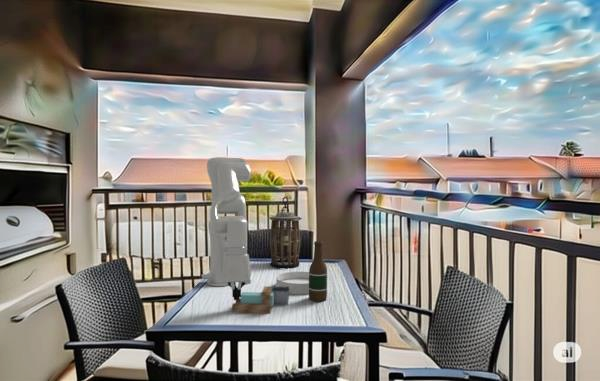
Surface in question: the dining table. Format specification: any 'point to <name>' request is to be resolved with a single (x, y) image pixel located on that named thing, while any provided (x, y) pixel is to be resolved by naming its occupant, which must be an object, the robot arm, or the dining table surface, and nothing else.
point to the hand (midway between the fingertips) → (236, 299)
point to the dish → (294, 282)
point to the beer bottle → (318, 275)
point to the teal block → (254, 298)
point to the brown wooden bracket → (255, 308)
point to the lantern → (285, 239)
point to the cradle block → (280, 295)
